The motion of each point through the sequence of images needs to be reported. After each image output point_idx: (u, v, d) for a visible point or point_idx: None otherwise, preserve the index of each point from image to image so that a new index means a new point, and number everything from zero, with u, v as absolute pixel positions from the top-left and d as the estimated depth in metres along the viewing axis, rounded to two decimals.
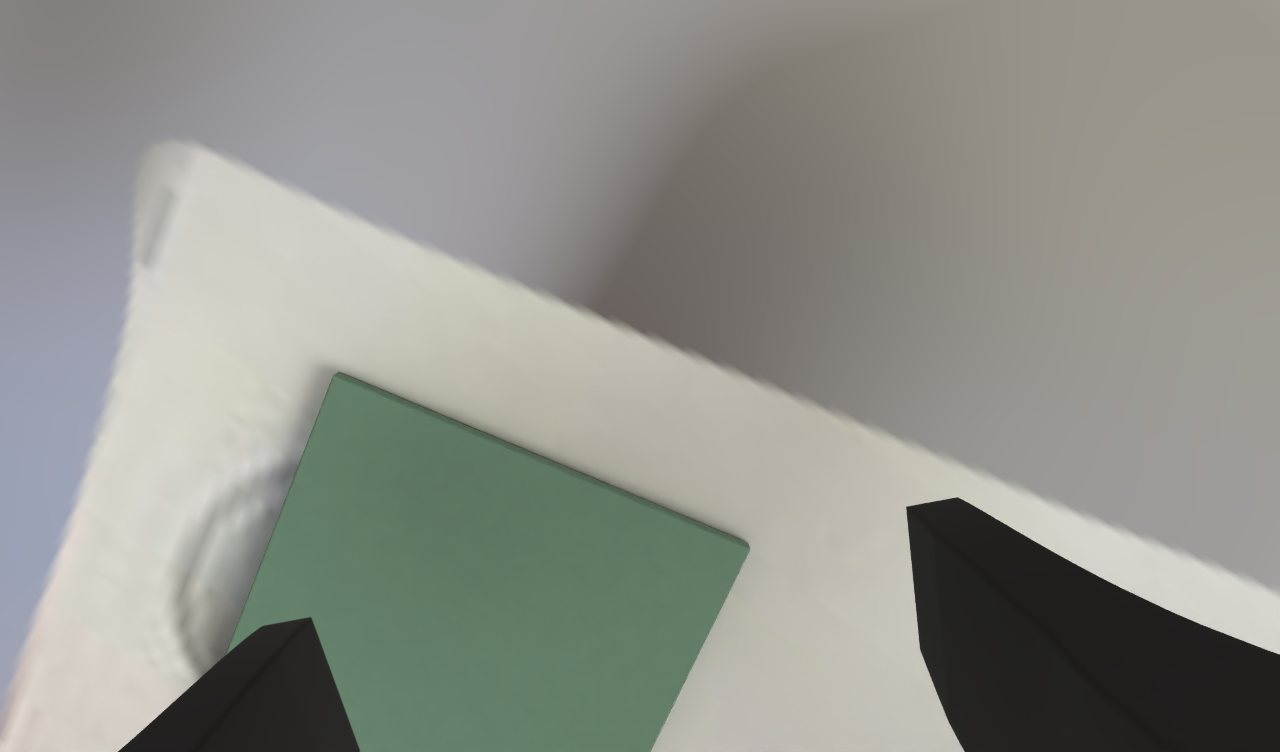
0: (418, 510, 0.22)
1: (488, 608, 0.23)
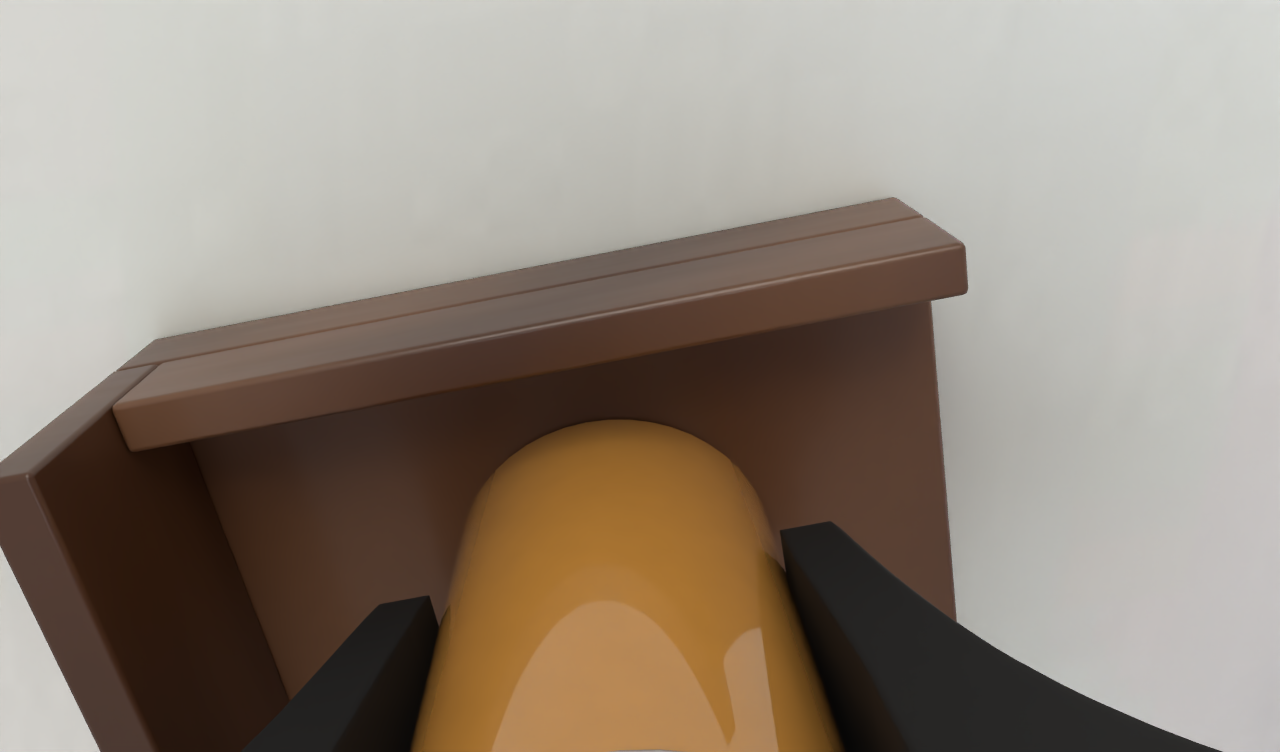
0: None
1: None
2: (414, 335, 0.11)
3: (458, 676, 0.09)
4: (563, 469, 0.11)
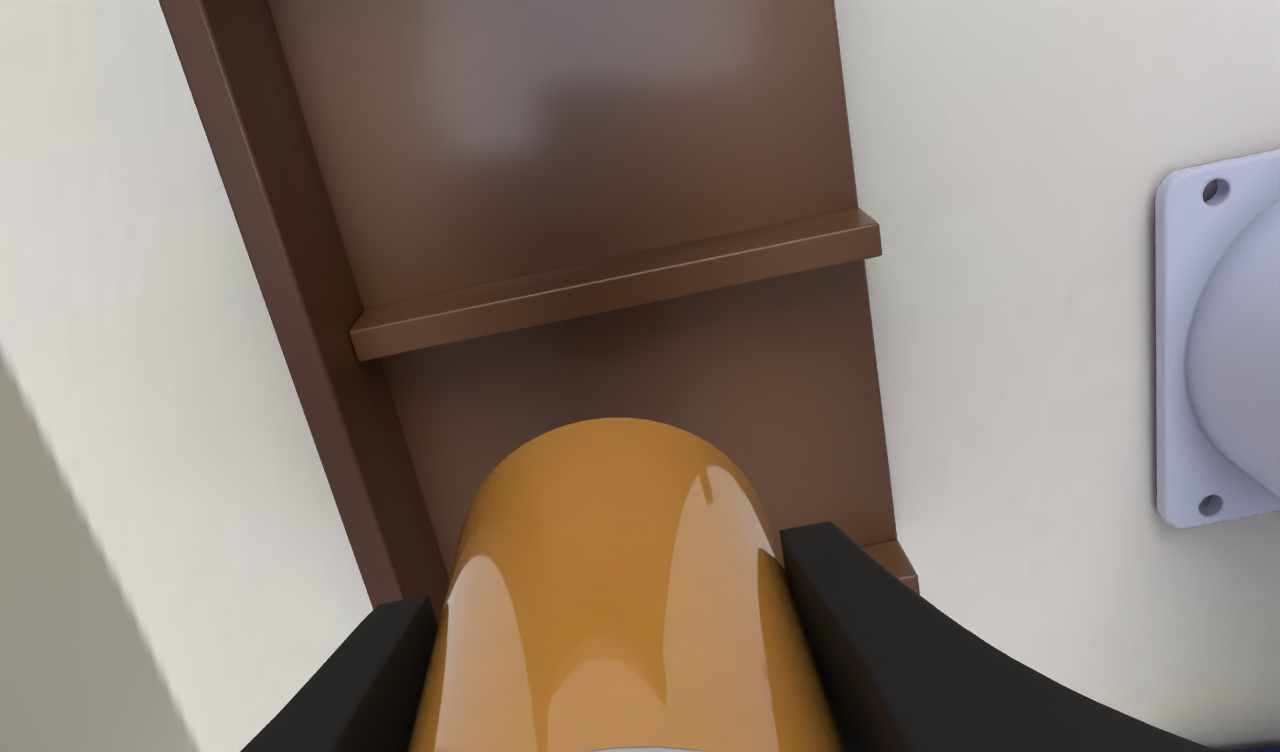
0: None
1: None
2: None
3: (456, 673, 0.09)
4: (562, 467, 0.11)
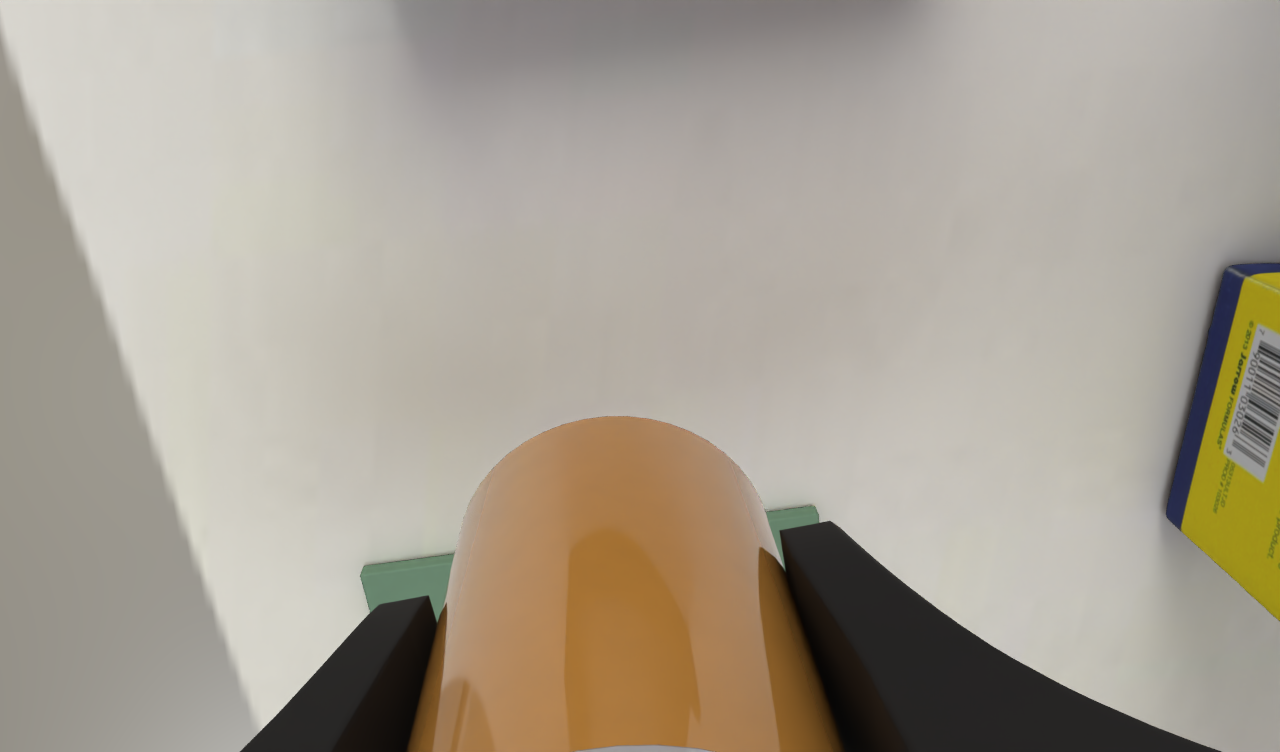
0: None
1: None
2: None
3: (456, 672, 0.09)
4: (563, 466, 0.11)
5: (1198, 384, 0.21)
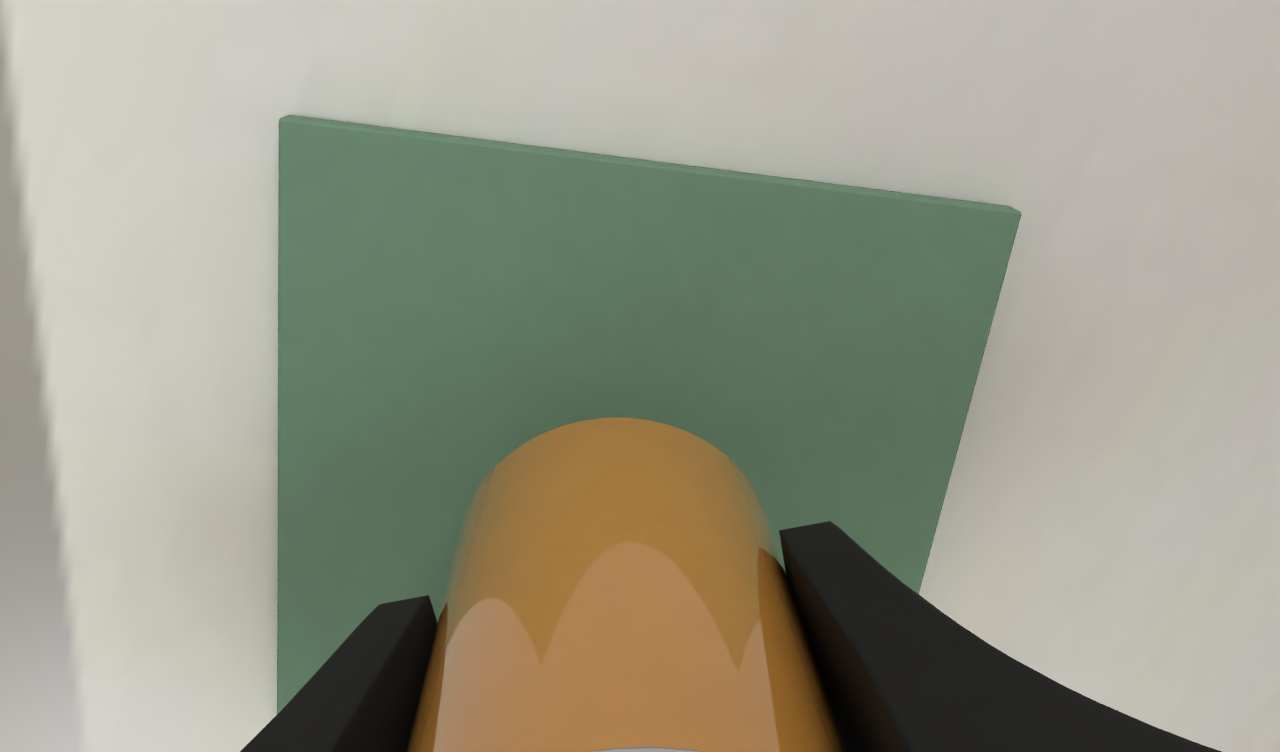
0: None
1: None
2: None
3: (456, 674, 0.09)
4: (562, 468, 0.11)
5: None
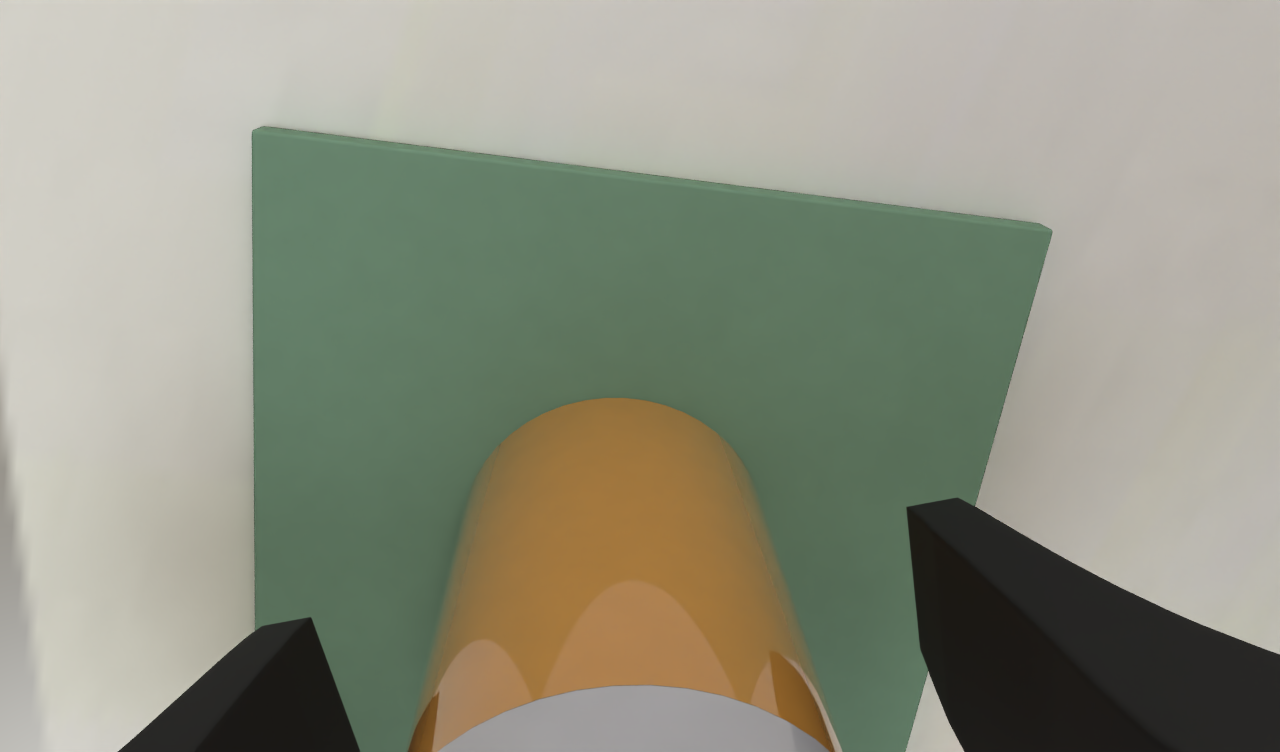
0: (404, 648, 0.14)
1: None
2: None
3: (463, 629, 0.09)
4: (563, 443, 0.12)
5: None
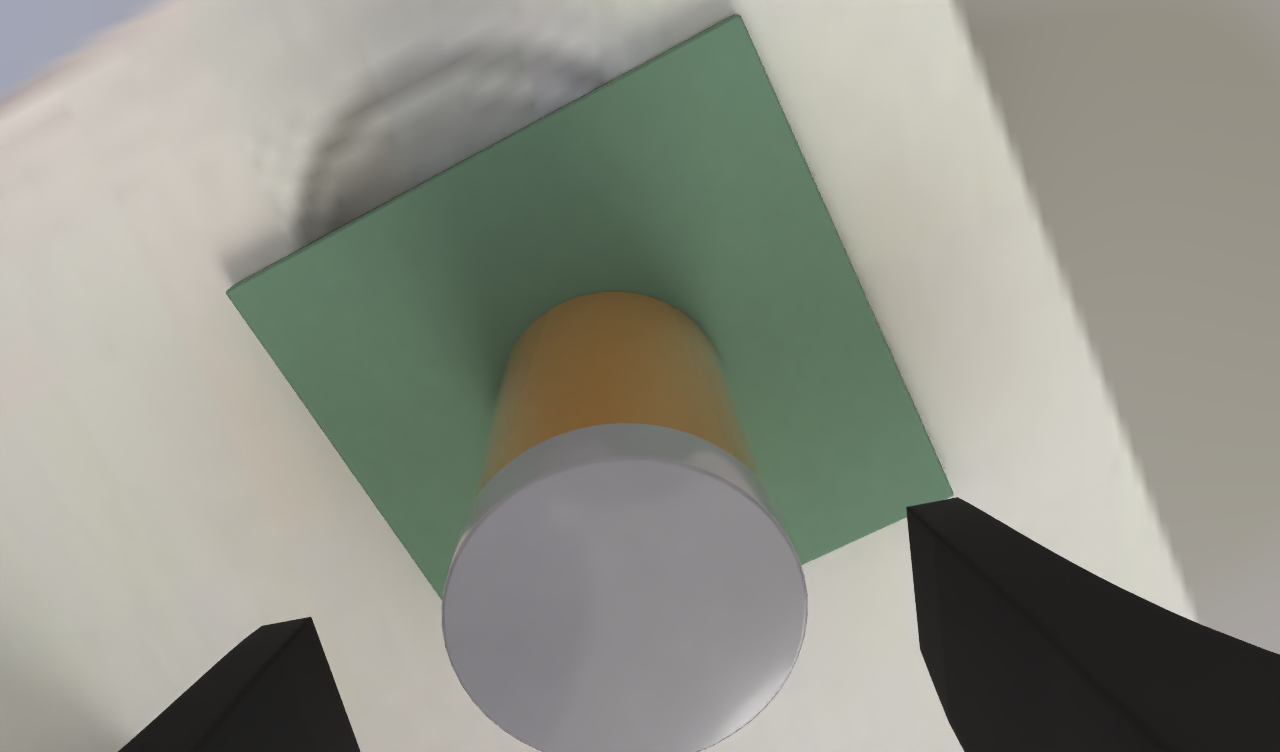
0: (697, 226, 0.17)
1: None
2: None
3: None
4: None
5: None
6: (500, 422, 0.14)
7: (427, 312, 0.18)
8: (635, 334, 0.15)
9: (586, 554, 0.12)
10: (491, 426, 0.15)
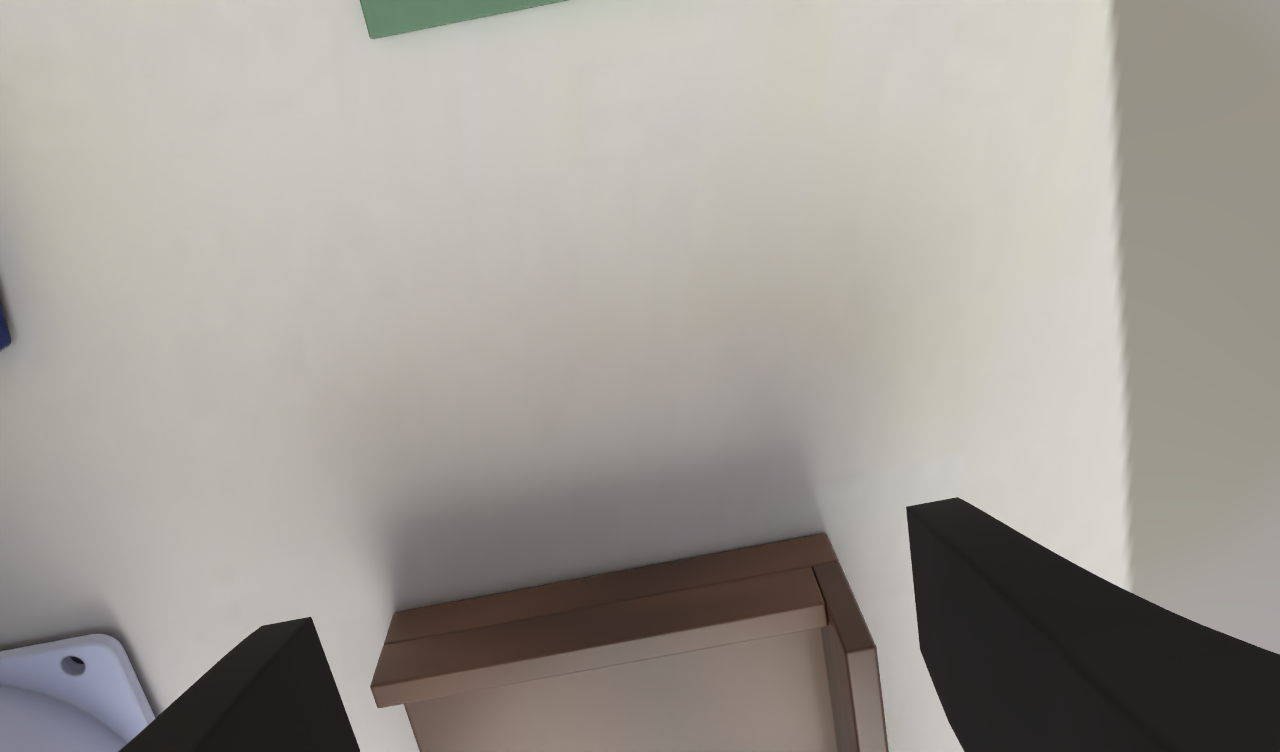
0: None
1: None
2: None
3: None
4: None
5: None
6: None
7: None
8: None
9: None
10: None
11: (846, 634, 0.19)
